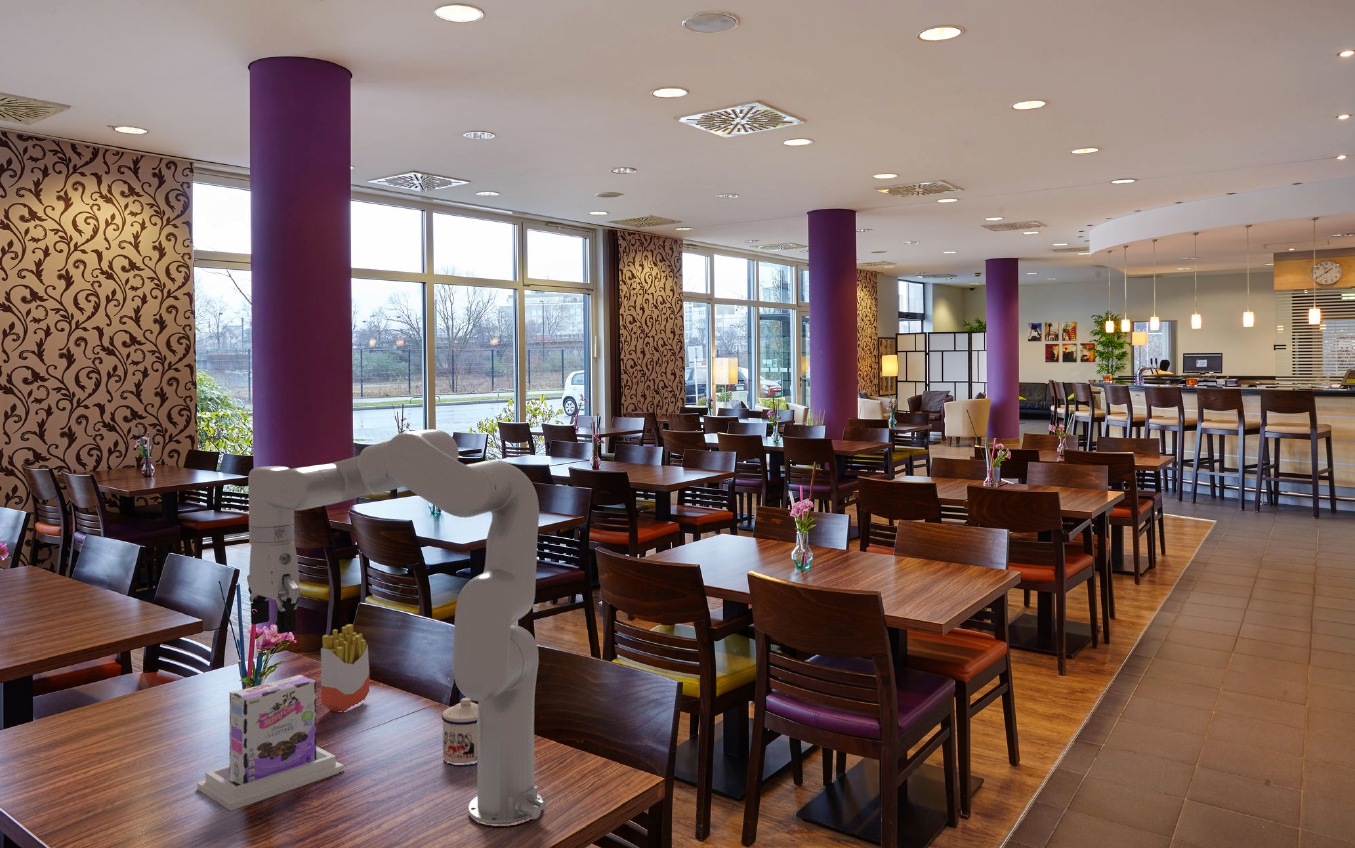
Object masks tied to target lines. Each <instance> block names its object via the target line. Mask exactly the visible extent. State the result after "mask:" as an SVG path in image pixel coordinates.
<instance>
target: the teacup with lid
mask: <svg viewBox="0 0 1355 848" xmlns="http://www.w3.org/2000/svg"><path fill="white" fill-rule="evenodd" d="M441 720H442V752H443V753H442V759H443V758H444V759H445V760H446V761H449V762H452V763H467V762H471V761H476V760H477V722H478V703H475V702H472V700H471V699H469V698H467V697H463V698H461V700H460V702H459V703H456V704H455V705H453V706H450V707H448V708H446V709H444V711H443V712H442V714H441ZM444 759H443V760H444Z"/></svg>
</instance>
